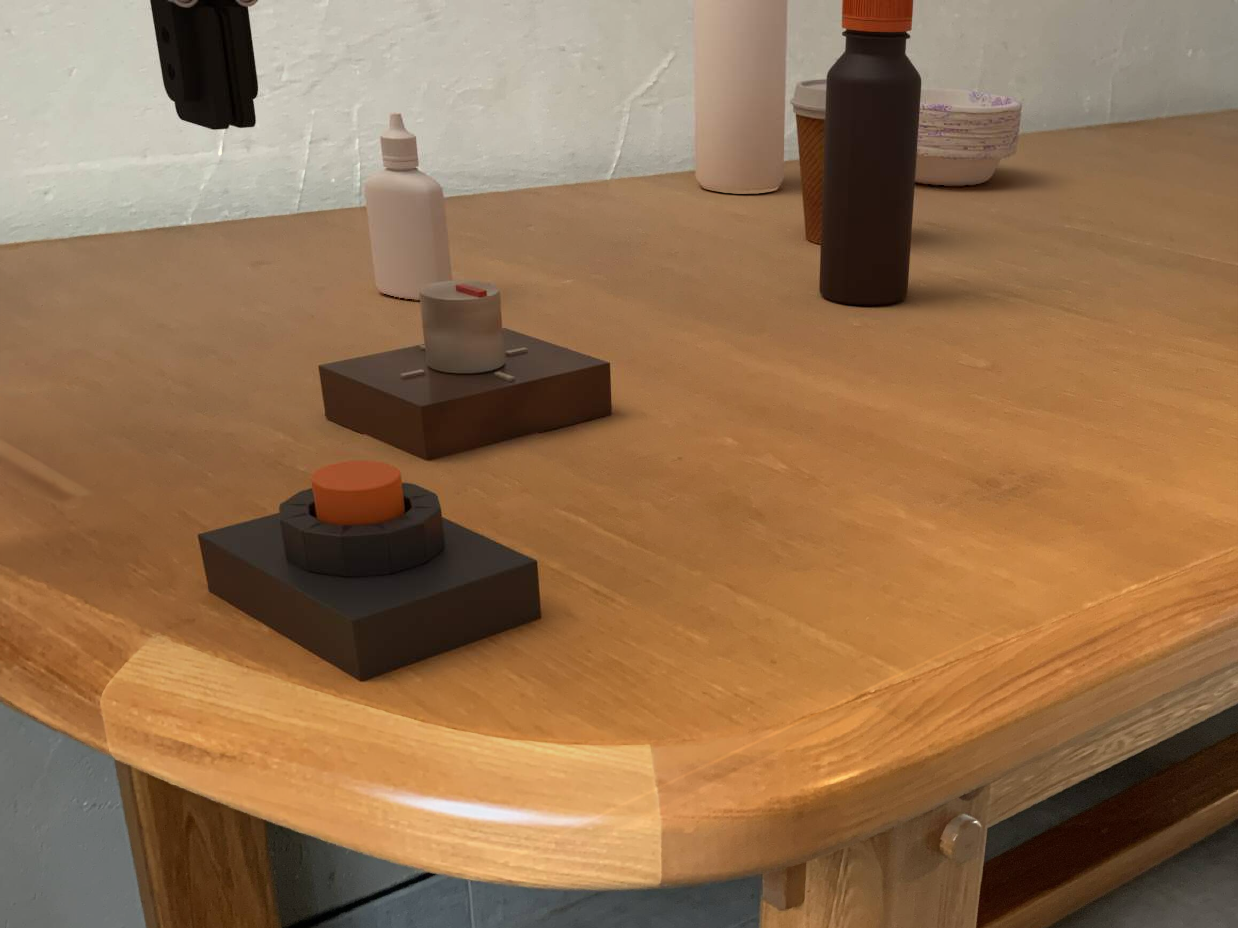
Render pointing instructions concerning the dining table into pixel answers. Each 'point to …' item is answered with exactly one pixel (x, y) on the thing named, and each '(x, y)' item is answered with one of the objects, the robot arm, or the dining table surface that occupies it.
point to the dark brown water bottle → (870, 157)
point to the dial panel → (465, 396)
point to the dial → (462, 326)
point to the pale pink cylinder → (740, 93)
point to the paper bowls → (964, 135)
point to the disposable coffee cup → (811, 150)
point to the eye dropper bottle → (406, 219)
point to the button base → (371, 582)
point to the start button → (357, 493)
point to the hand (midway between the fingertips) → (216, 122)
